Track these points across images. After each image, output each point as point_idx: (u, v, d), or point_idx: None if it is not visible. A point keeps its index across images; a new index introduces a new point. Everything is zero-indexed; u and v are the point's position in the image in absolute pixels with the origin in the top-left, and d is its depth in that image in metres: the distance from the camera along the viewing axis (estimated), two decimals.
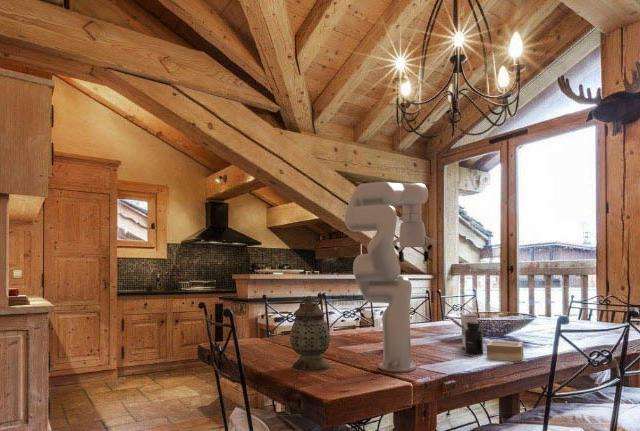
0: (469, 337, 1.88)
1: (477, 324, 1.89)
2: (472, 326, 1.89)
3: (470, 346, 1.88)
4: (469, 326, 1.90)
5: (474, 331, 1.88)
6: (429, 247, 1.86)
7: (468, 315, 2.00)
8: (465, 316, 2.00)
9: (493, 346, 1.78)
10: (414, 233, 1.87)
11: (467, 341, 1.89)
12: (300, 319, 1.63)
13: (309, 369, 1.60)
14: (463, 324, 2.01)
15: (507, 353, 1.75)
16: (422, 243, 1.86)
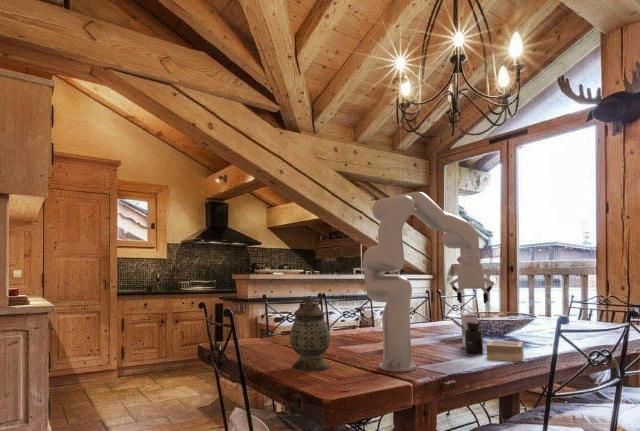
0: (469, 337, 1.88)
1: (477, 324, 1.89)
2: (472, 326, 1.89)
3: (470, 346, 1.88)
4: (469, 326, 1.90)
5: (474, 331, 1.88)
6: (488, 289, 1.89)
7: (468, 315, 2.00)
8: (465, 316, 2.00)
9: (493, 346, 1.78)
10: (473, 275, 1.90)
11: (467, 341, 1.89)
12: (300, 319, 1.63)
13: (309, 369, 1.60)
14: (463, 324, 2.01)
15: (507, 353, 1.75)
16: (482, 285, 1.89)
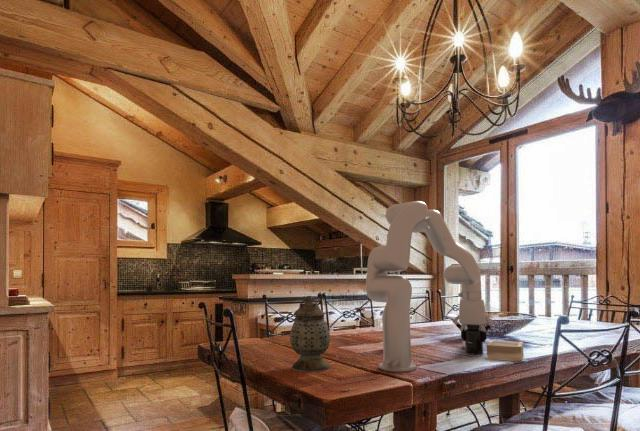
0: (469, 337, 1.88)
1: None
2: (472, 326, 1.89)
3: (470, 346, 1.88)
4: (469, 326, 1.90)
5: (474, 331, 1.88)
6: (487, 327, 1.88)
7: None
8: None
9: (493, 346, 1.78)
10: (475, 312, 1.88)
11: (467, 341, 1.89)
12: (300, 319, 1.63)
13: (309, 369, 1.60)
14: None
15: (507, 353, 1.75)
16: (483, 322, 1.87)
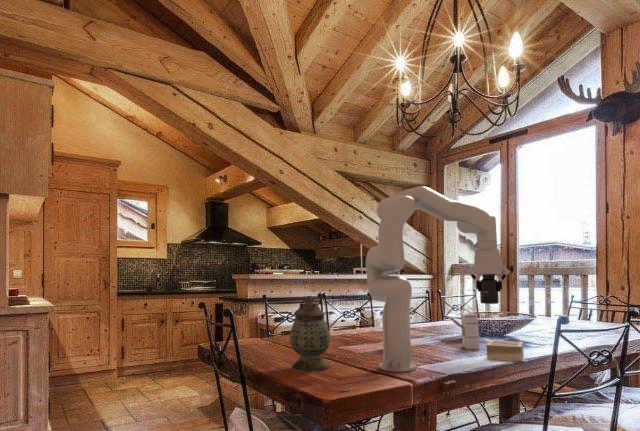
0: (485, 287, 1.85)
1: None
2: (488, 275, 1.86)
3: (485, 296, 1.85)
4: (484, 276, 1.86)
5: (490, 280, 1.85)
6: (503, 277, 1.85)
7: (468, 315, 2.00)
8: (465, 316, 2.00)
9: (493, 346, 1.78)
10: (491, 261, 1.85)
11: (482, 291, 1.86)
12: (300, 319, 1.63)
13: (309, 369, 1.60)
14: (463, 324, 2.01)
15: (507, 353, 1.75)
16: (499, 271, 1.84)
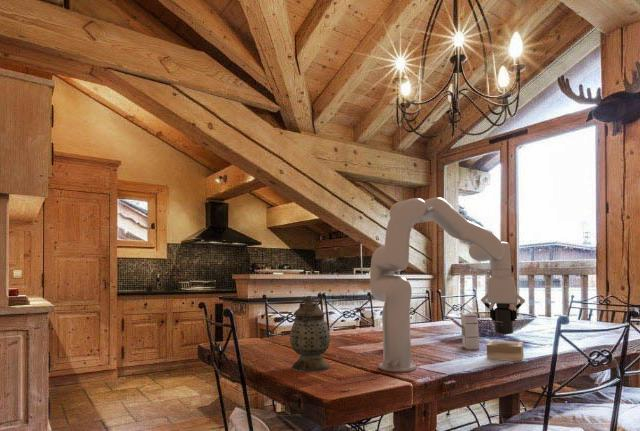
0: (499, 316, 1.80)
1: None
2: (502, 304, 1.81)
3: (500, 325, 1.80)
4: (499, 305, 1.82)
5: (504, 310, 1.80)
6: (518, 306, 1.80)
7: (468, 315, 2.00)
8: (465, 316, 2.00)
9: (493, 346, 1.78)
10: (505, 290, 1.81)
11: (497, 320, 1.81)
12: (300, 319, 1.63)
13: (309, 369, 1.60)
14: (463, 324, 2.01)
15: (507, 353, 1.75)
16: (514, 300, 1.79)
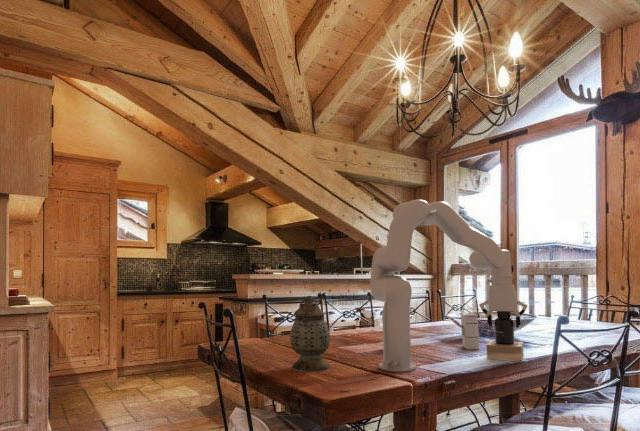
0: (500, 327, 1.80)
1: (508, 313, 1.81)
2: (503, 315, 1.80)
3: (501, 336, 1.79)
4: (499, 315, 1.81)
5: (505, 320, 1.79)
6: (521, 312, 1.79)
7: (468, 315, 2.00)
8: (465, 316, 2.00)
9: (493, 346, 1.78)
10: (505, 298, 1.80)
11: (497, 331, 1.80)
12: (300, 319, 1.63)
13: (309, 369, 1.60)
14: (463, 324, 2.01)
15: (507, 353, 1.75)
16: (514, 308, 1.79)
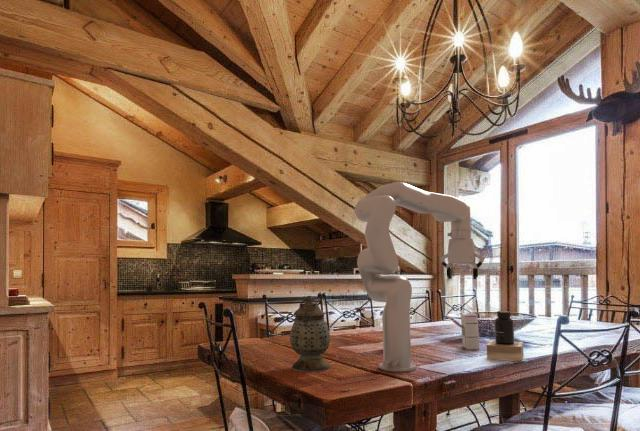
0: (500, 327, 1.80)
1: (508, 313, 1.81)
2: (503, 315, 1.80)
3: (501, 336, 1.79)
4: (499, 315, 1.81)
5: (505, 320, 1.79)
6: (478, 264, 1.84)
7: (468, 315, 2.00)
8: (465, 316, 2.00)
9: (493, 346, 1.78)
10: (463, 250, 1.85)
11: (497, 331, 1.80)
12: (300, 319, 1.63)
13: (309, 369, 1.60)
14: (463, 324, 2.01)
15: (507, 353, 1.75)
16: (471, 260, 1.83)
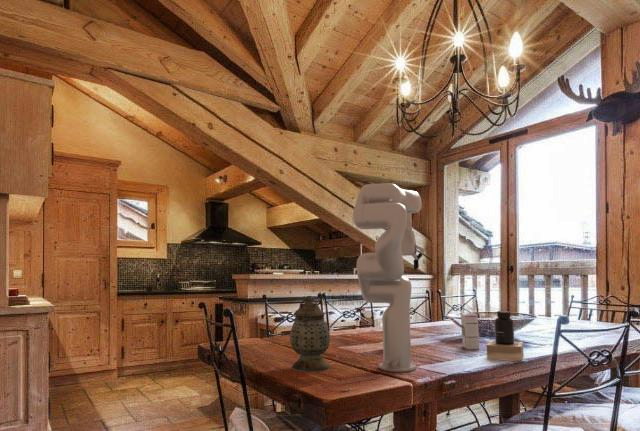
0: (500, 327, 1.80)
1: (508, 313, 1.81)
2: (503, 315, 1.80)
3: (501, 336, 1.79)
4: (499, 315, 1.81)
5: (505, 320, 1.79)
6: (419, 256, 1.89)
7: (468, 315, 2.00)
8: (465, 316, 2.00)
9: (493, 346, 1.78)
10: (404, 242, 1.90)
11: (497, 331, 1.80)
12: (300, 319, 1.63)
13: (309, 369, 1.60)
14: (463, 324, 2.01)
15: (507, 353, 1.75)
16: (412, 252, 1.89)
